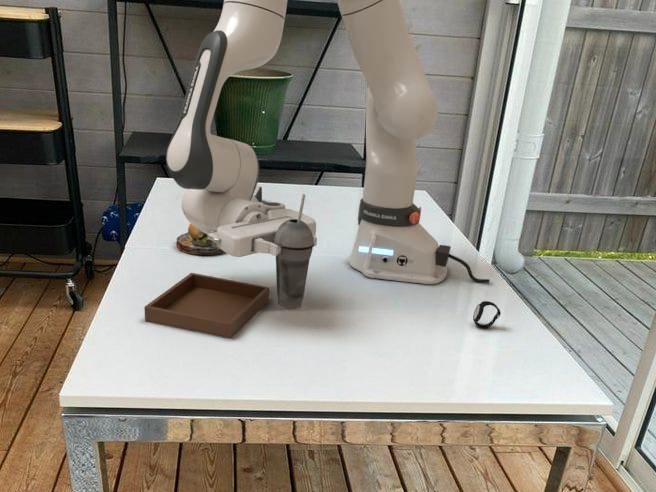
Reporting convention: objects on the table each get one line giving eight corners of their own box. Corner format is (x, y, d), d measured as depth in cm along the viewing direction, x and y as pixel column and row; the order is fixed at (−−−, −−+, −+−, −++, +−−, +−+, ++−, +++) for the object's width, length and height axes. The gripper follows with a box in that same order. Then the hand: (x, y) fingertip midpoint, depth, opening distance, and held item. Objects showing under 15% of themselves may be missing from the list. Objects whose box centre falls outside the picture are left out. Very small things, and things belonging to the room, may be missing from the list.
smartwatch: (473, 321, 152) (478, 297, 149) (499, 327, 150) (504, 303, 147) (468, 328, 149) (472, 303, 146) (493, 334, 147) (499, 309, 144)
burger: (233, 255, 173) (234, 221, 169) (182, 257, 169) (181, 223, 165) (221, 238, 182) (221, 206, 178) (171, 239, 179) (170, 207, 174)
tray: (269, 300, 152) (270, 287, 151) (231, 338, 137) (231, 324, 135) (191, 285, 156) (191, 272, 154) (145, 321, 140) (144, 306, 138)
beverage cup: (269, 296, 145) (274, 187, 134) (307, 297, 146) (316, 189, 135) (270, 311, 139) (276, 198, 128) (310, 313, 140) (319, 201, 129)
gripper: (202, 216, 135) (253, 238, 128) (286, 201, 148) (337, 220, 140) (202, 251, 139) (252, 275, 131) (284, 233, 151) (334, 253, 144)
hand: (297, 246), depth 136 cm, fingers closed on beverage cup, 7 cm apart
